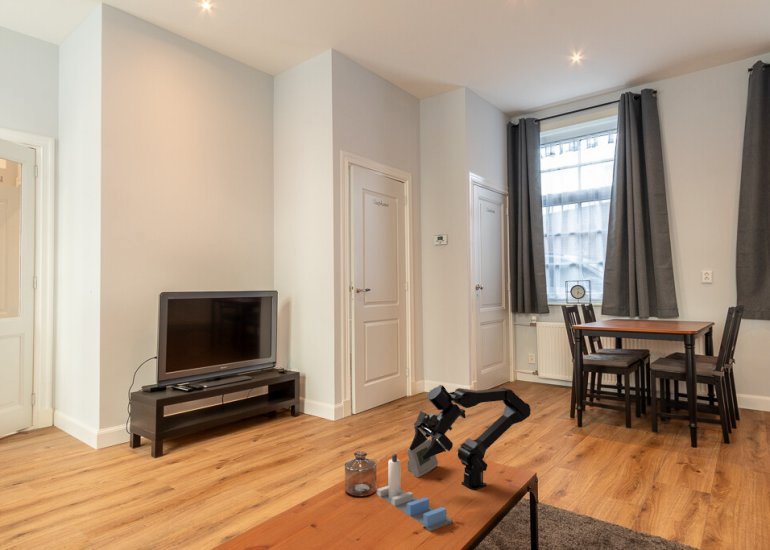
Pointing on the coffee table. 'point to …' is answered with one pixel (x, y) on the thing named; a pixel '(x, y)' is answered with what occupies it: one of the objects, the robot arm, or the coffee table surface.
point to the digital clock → (421, 460)
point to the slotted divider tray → (417, 509)
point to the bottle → (394, 477)
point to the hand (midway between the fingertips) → (416, 454)
